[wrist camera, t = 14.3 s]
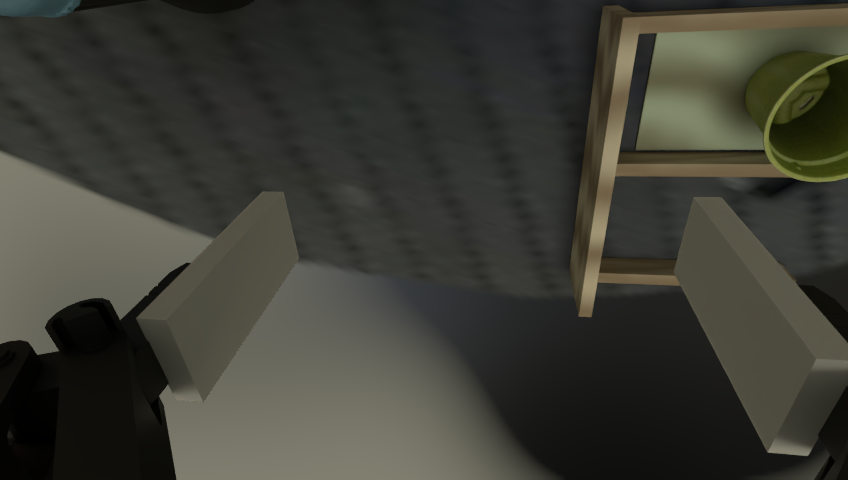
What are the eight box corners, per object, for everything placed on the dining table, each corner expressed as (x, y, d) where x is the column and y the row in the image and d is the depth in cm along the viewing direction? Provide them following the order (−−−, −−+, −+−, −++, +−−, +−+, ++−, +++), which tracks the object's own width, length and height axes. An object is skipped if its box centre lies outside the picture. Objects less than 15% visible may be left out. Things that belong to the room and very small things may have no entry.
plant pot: (778, 159, 43) (832, 203, 36) (696, 108, 42) (735, 143, 35) (878, 67, 38) (963, 97, 31) (788, 6, 37) (855, 22, 30)
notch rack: (602, 5, 39) (623, 17, 32) (891, -8, 36) (981, 2, 29) (569, 269, 53) (578, 316, 46) (775, 277, 50) (817, 328, 43)
